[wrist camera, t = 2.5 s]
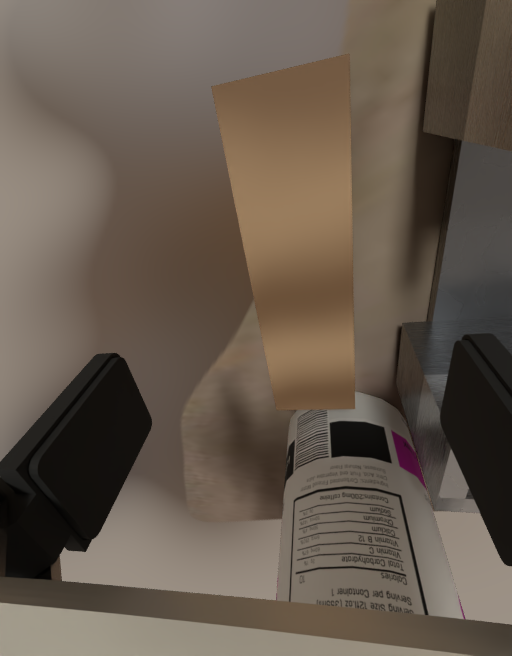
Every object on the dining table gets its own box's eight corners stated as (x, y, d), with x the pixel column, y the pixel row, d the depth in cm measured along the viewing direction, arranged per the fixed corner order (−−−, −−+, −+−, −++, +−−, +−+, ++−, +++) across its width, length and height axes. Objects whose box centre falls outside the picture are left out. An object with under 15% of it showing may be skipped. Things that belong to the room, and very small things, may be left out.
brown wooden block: (240, 92, 14) (211, 86, 10) (337, 70, 13) (349, 53, 9) (283, 351, 21) (276, 410, 17) (346, 348, 20) (355, 409, 16)
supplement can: (430, 413, 22) (578, 795, 10) (360, 471, 27) (401, 780, 14) (325, 366, 21) (343, 725, 9) (271, 435, 26) (235, 733, 14)
